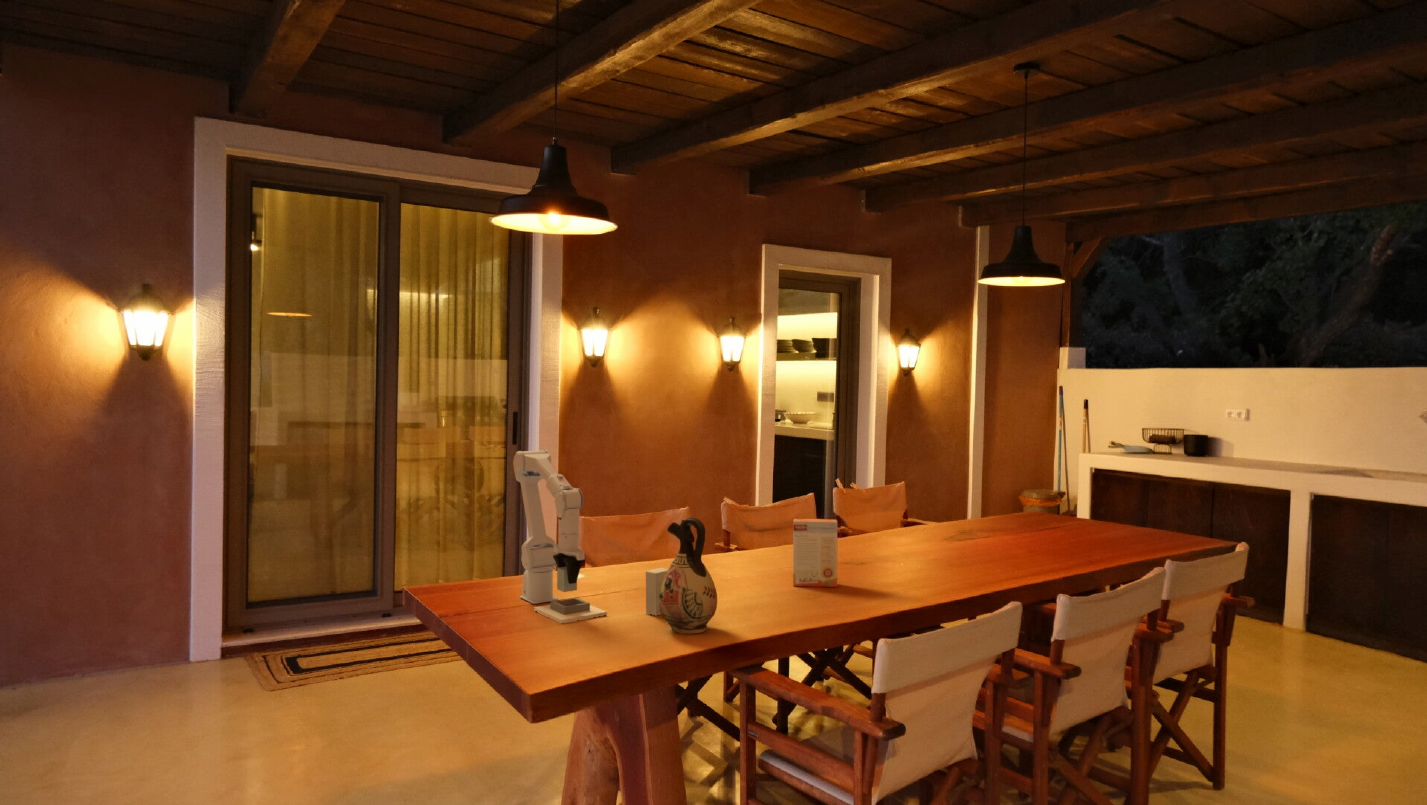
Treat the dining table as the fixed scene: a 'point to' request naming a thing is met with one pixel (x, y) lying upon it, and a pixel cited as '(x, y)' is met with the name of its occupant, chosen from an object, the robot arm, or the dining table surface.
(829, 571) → the cracker box
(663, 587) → the ceramic jug
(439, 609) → the dining table surface
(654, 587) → the skincare box
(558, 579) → the peg
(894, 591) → the dining table surface
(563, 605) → the socket holder
